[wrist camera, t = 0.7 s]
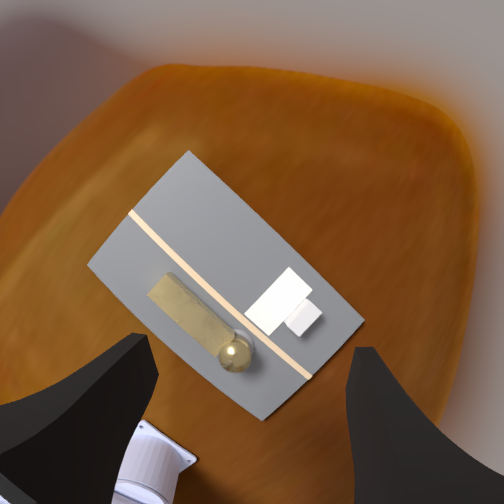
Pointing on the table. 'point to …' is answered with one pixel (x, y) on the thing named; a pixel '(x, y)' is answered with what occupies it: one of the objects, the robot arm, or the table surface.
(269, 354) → the lock board
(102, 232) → the table surface
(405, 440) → the robot arm
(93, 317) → the table surface
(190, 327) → the bar
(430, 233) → the table surface
